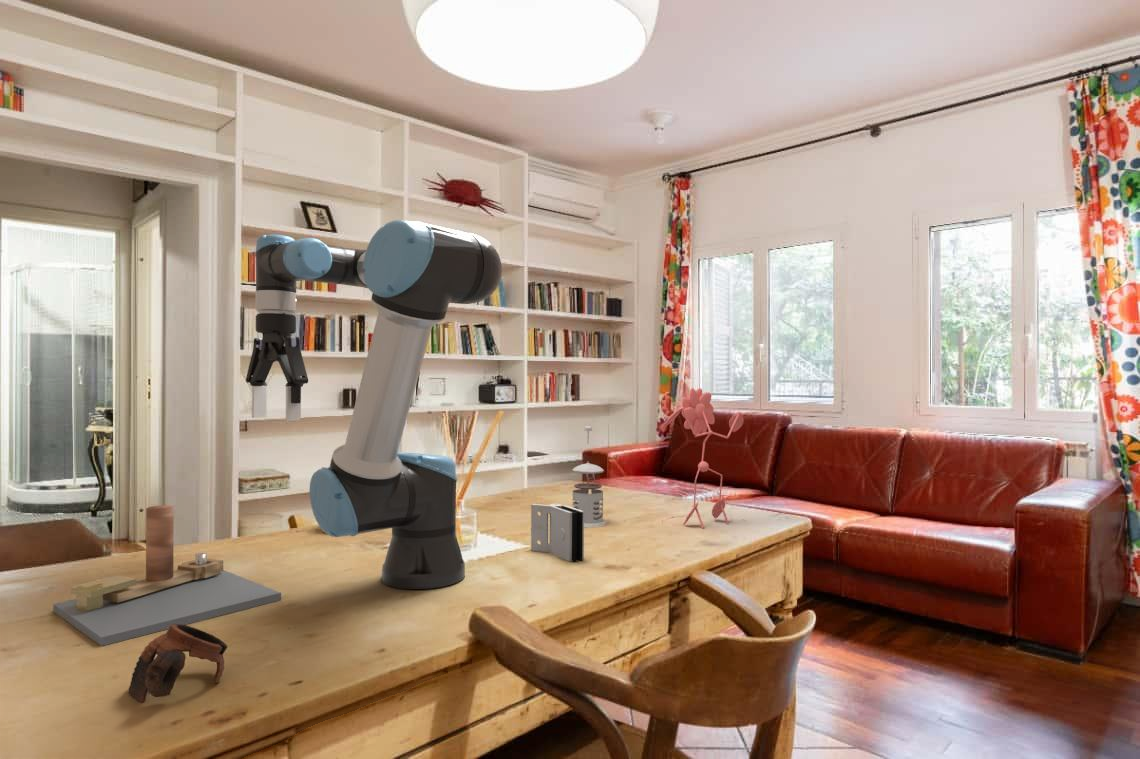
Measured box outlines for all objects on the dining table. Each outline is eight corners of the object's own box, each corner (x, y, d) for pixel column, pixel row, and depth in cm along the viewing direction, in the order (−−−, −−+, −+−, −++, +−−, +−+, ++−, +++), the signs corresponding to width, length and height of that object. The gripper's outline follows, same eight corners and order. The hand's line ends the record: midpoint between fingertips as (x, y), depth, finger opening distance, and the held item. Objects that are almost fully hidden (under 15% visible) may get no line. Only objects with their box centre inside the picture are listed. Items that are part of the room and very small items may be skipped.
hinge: (529, 550, 150) (530, 504, 150) (548, 546, 153) (548, 501, 153) (573, 563, 140) (574, 513, 140) (592, 558, 143) (592, 510, 143)
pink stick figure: (752, 520, 182) (751, 387, 182) (682, 533, 167) (680, 388, 167) (709, 512, 194) (707, 387, 195) (639, 523, 179) (638, 388, 180)
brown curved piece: (134, 681, 86) (172, 616, 89) (207, 710, 87) (242, 645, 90) (99, 698, 75) (144, 623, 78) (183, 731, 76) (224, 656, 79)
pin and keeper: (215, 576, 125) (215, 554, 125) (91, 613, 105) (91, 587, 105) (195, 573, 127) (195, 551, 127) (70, 608, 107) (71, 582, 107)
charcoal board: (281, 599, 116) (281, 592, 116) (101, 646, 96) (101, 637, 96) (221, 575, 130) (221, 569, 130) (53, 611, 109) (53, 603, 109)
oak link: (203, 568, 129) (203, 496, 129) (226, 571, 126) (226, 498, 126) (97, 598, 111) (98, 515, 111) (122, 603, 108) (122, 518, 108)
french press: (565, 526, 174) (566, 426, 174) (573, 517, 185) (573, 423, 185) (604, 528, 172) (605, 427, 172) (609, 518, 184) (610, 424, 184)
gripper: (327, 311, 135) (326, 420, 135) (263, 318, 150) (263, 415, 150) (290, 308, 129) (290, 422, 129) (228, 315, 145) (228, 417, 145)
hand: (275, 419), depth 140 cm, fingers open, 13 cm apart
